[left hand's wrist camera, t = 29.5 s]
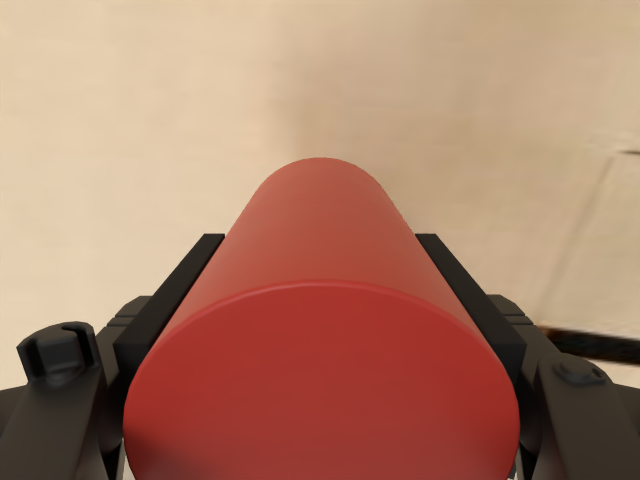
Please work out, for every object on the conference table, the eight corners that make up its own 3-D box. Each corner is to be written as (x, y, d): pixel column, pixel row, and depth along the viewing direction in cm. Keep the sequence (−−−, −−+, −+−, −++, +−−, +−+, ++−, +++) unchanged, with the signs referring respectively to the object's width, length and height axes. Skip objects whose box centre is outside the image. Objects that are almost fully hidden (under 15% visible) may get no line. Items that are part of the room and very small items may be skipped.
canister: (395, 294, 18) (500, 568, 8) (255, 303, 19) (169, 583, 8) (396, 151, 16) (551, 265, 5) (234, 163, 16) (64, 297, 5)
